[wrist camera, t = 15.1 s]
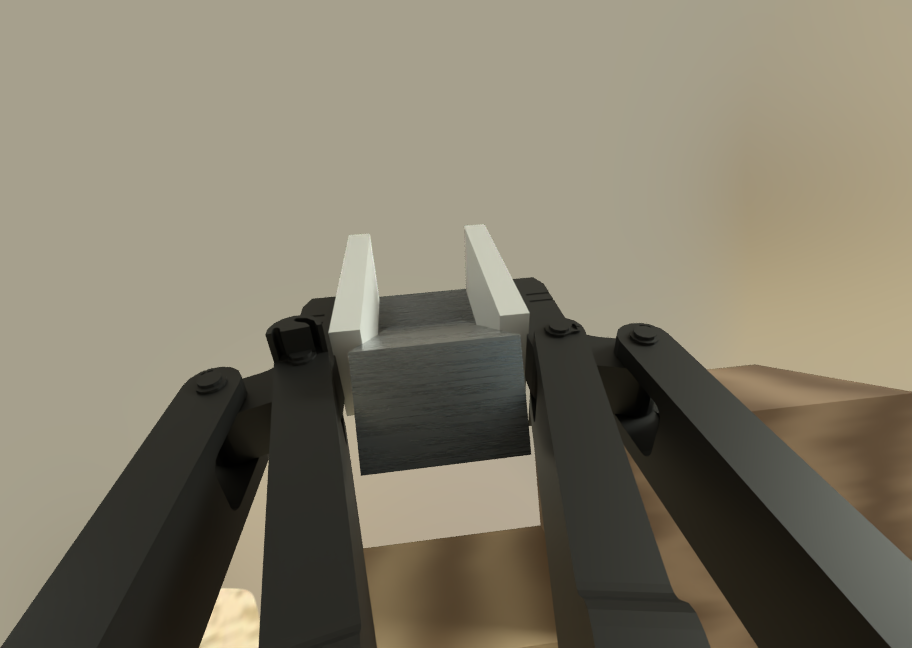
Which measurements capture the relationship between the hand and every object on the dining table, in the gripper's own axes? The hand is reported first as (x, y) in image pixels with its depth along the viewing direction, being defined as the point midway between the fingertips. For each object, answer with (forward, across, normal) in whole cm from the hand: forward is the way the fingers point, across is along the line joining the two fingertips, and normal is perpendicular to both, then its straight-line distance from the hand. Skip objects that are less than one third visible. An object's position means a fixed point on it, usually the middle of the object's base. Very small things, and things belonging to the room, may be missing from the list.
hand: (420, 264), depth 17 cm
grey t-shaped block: (0, 0, -5) cm, 5 cm away
